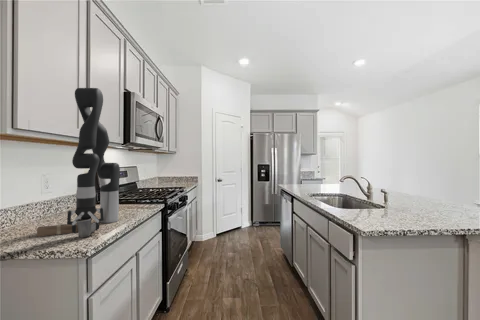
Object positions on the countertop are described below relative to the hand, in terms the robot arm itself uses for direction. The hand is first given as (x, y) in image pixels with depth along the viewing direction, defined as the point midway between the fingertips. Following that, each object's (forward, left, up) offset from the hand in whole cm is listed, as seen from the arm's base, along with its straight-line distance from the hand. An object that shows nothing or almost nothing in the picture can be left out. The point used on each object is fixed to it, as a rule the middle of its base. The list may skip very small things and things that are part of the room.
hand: (85, 231), depth 115 cm
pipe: (-1, 0, -2) cm, 2 cm away
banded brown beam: (-11, -9, -2) cm, 14 cm away
